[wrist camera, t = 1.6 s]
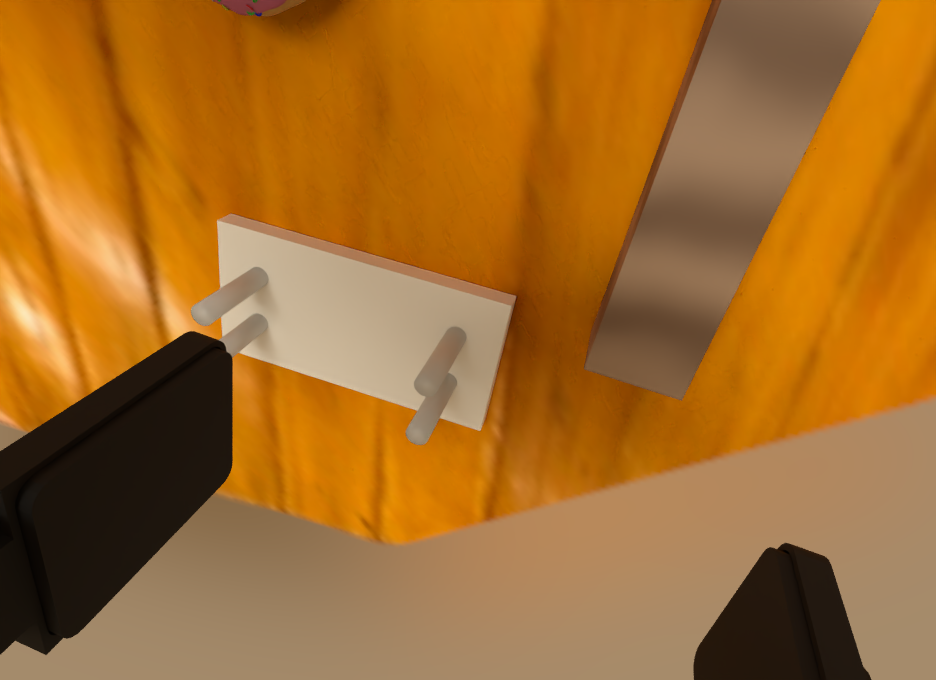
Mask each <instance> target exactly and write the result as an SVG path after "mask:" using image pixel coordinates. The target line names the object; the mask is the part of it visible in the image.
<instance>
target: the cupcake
mask: <svg viewBox="0 0 936 680" xmlns="http://www.w3.org/2000/svg"><path fill="white" fill-rule="evenodd" d="M212 1H214V2H217V3H219V4H221V5H222V6H223V8H224V9H226V10H229V9H230V10H232V11H234V12H236V13H238V14H241V15H257V16H273V15H276V14H279V13H281V12H283V11H286V10H288V9H290V8H292V7H295V6H297V5H299V4H301V3H303V2H305V1H306V0H212ZM225 7H227V8H225Z"/></svg>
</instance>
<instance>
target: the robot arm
mask: <svg viewBox="0 0 936 680" xmlns="http://www.w3.org/2000/svg"><path fill="white" fill-rule="evenodd" d="M231 468H232V356H231V354H230V353H228V352H227V351H226V346H225V344H224V343H223V342H222V341H220V340H217V339H214V338H211V337H208V336H206V335H203V334H200V333H197V332H194V331H189V332H187V333H185V334H183V335H182V336H180V337H178V338H177V339H175V340H174V341H172V342H171V343H169V344H168V345H166V346H164V347H163V348H161V349H160V350H158V351H157V352H155V353H153V354H152V355H150V356H149V357H147V358H146V359H144V360H142V361H141V362H139V363H138V364H136V365H135V366H133V367H131V368H130V369H128V370H127V371H125V372H124V373H122V374H121V375H119V376H117V377H116V378H114V379H113V380H111V381H110V382H108V383H106V384H105V385H103V386H102V387H100V388H99V389H97V390H95V391H94V392H92V393H91V394H89V395H88V396H86V397H84V398H83V399H81V400H80V401H78V402H77V403H75V404H74V405H72V406H70V407H69V408H67V409H66V410H64V411H63V412H61V413H59V414H58V415H56V416H55V417H53V418H52V419H50V420H48V421H47V422H45V423H44V424H42V425H41V426H39V427H37V428H36V429H34V430H33V431H31V432H30V433H28V434H27V435H25V436H23V437H22V438H20V439H19V440H17V441H16V442H14V443H12V444H11V445H10V446H8V447H6V448H5V449H3V450H1V451H0V654H1V653H3V652H4V651H5V650H6V649H7V648H8V647H9V646H10V645H11V644H12V643H13V642H14V641H15V640H16V641H17V642H19V643H21V644H24V645H26V646H28V647H30V648H32V649H34V650H37V651H39V652H41V653H43V654H45V655H47V654H48V653H49V652H50V651H51V649H53V648H54V647H55V645H57V644H58V643H59V642H60V641H61V640H62V639H63V638H71V637H73V636H74V635H76V634H78V633H79V632H80V631H81V630H82V629H83V628H84V627H85V626H86V625H87V624H88V623H89V622H90V621H91V620H92V619H93V618H94V617H95V616H96V615H97V613H99V612H100V611H101V610H102V608H103V607H104V606H105V605H106V604H107V603H108V602H109V601H110V600H111V599H112V598H113V597H114V596H115V595H116V594H117V593H118V592H119V591H120V590H121V589H122V588H123V587H124V586H125V585H126V584H127V583H128V582H129V581H130V580H131V578H132V577H133V576H134V575H135V574H136V573H137V572H138V571H139V570H140V569H141V568H142V567H143V566H144V565H145V564H146V563H147V562H148V561H149V560H150V559H151V558H152V557H153V555H155V554H156V553H157V552H158V551H159V550H160V548H161V547H162V546H163V545H164V544H165V543H166V542H167V541H168V540H169V539H170V538H171V537H172V536H173V535H174V534H175V533H176V532H177V531H178V530H179V529H180V528H181V527H182V526H183V524H184V523H186V522H187V521H188V519H189V518H190V517H191V516H192V515H193V514H194V513H195V512H196V511H197V510H198V509H199V508H200V507H201V506H202V505H203V504H204V503H205V502H206V501H207V500H208V499H209V498H210V497H211V496H212V495H213V494H214V493H215V492H216V490H217V489H218V488H219V487H220V486H221V485H222V484H223V483H224V482H225V481H226V479H227V477H228V476H229V474H230V471H231ZM694 680H871V678H870V675H869V673H868V672H867V671H866V670H865V669H864V667H863V665H862V662H861V658H860V655H859V652H858V649H857V646H856V642H855V639H854V636H853V633H852V630H851V626H850V623H849V620H848V617H847V614H846V611H845V607H844V604H843V601H842V598H841V595H840V591H839V588H838V585H837V582H836V579H835V576H834V572H833V569H832V566H831V564H830V562H829V560H828V559H827V558H826V557H825V556H822V555H819V554H817V553H814V552H811V551H808V550H806V549H803V548H800V547H797V546H794V545H791V544H788V543H784V544H782V545H781V546H780V547H779V548H778V549H775V548H771V547H770V548H767V549H766V550H765V551H764V552H763V554H762V555H761V557H760V558H759V560H758V561H757V562H756V564H755V565H754V567H753V568H752V570H751V571H750V573H749V574H748V575H747V577H746V578H745V580H744V581H743V583H742V584H741V585H740V587H739V588H738V590H737V591H736V593H735V594H734V596H733V597H732V598H731V600H730V601H729V603H728V605H727V606H726V607H725V609H724V610H723V612H722V613H721V614H720V616H719V617H718V619H717V620H716V622H715V623H714V625H713V626H712V627H711V629H710V630H709V632H708V633H707V635H706V636H705V638H704V639H703V641H702V642H701V643H700V645H699V647H698V649H697V651H696V655H695V659H694Z"/></svg>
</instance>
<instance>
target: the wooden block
mask: <svg viewBox="0 0 936 680" xmlns="http://www.w3.org/2000/svg"><path fill="white" fill-rule="evenodd" d="M879 2H880V0H712V2H711V5H710V8H709V11H708V13H707V16H706V19H705V22H704V24H703V27H702V30H701V32H700V35H699V38H698V41H697V43H696V46H695V49H694V52H693V54H692V57H691V60H690V63H689V65H688V68H687V71H686V73H685V76H684V79H683V82H682V84H681V87H680V90H679V93H678V95H677V98H676V101H675V104H674V106H673V109H672V112H671V114H670V117H669V120H668V123H667V125H666V128H665V131H664V134H663V136H662V139H661V142H660V145H659V147H658V150H657V153H656V155H655V158H654V161H653V164H652V166H651V169H650V172H649V175H648V177H647V180H646V183H645V186H644V188H643V191H642V194H641V196H640V199H639V202H638V205H637V207H636V210H635V213H634V216H633V218H632V221H631V224H630V227H629V229H628V232H627V235H626V237H625V240H624V243H623V246H622V248H621V251H620V254H619V257H618V259H617V262H616V265H615V268H614V270H613V273H612V276H611V278H610V281H609V284H608V287H607V289H606V292H605V295H604V298H603V300H602V303H601V306H600V309H599V311H598V314H597V317H596V319H595V322H594V325H593V328H592V330H591V335H590V340H589V345H588V351H587V356H586V361H585V366H584V369H585V370H588V371H591V372H594V373H597V374H601V375H604V376H607V377H610V378H613V379H616V380H619V381H622V382H626V383H629V384H632V385H635V386H638V387H641V388H644V389H647V390H650V391H654V392H657V393H660V394H663V395H666V396H669V397H672V398H675V399H678V400H682V399H683V397H684V395H685V393H686V391H687V389H688V387H689V385H690V383H691V381H692V379H693V377H694V375H695V373H696V371H697V369H698V367H699V365H700V363H701V361H702V359H703V357H704V355H705V353H706V351H707V349H708V347H709V345H710V343H711V341H712V339H713V337H714V335H715V333H716V331H717V328H718V326H719V324H720V322H721V320H722V318H723V316H724V314H725V312H726V310H727V308H728V306H729V304H730V302H731V300H732V298H733V296H734V294H735V292H736V290H737V288H738V286H739V284H740V282H741V280H742V278H743V276H744V274H745V272H746V270H747V268H748V266H749V264H750V262H751V260H752V258H753V256H754V254H755V252H756V250H757V248H758V246H759V244H760V242H761V240H762V238H763V236H764V234H765V232H766V230H767V228H768V226H769V224H770V222H771V220H772V218H773V216H774V214H775V212H776V210H777V208H778V206H779V204H780V202H781V200H782V198H783V196H784V194H785V192H786V190H787V188H788V186H789V184H790V182H791V180H792V178H793V176H794V174H795V172H796V170H797V168H798V165H799V163H800V161H801V159H802V157H803V155H804V153H805V151H806V149H807V147H808V145H809V143H810V141H811V139H812V137H813V135H814V133H815V131H816V129H817V127H818V125H819V123H820V121H821V119H822V117H823V115H824V113H825V111H826V109H827V107H828V105H829V103H830V101H831V99H832V97H833V95H834V93H835V91H836V89H837V87H838V85H839V83H840V81H841V79H842V77H843V75H844V73H845V71H846V69H847V67H848V65H849V63H850V61H851V59H852V57H853V55H854V53H855V51H856V49H857V47H858V45H859V43H860V41H861V39H862V37H863V35H864V33H865V31H866V29H867V27H868V25H869V23H870V21H871V19H872V17H873V15H874V13H875V11H876V9H877V7H878V5H879Z"/></svg>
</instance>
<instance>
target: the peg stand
mask: <svg viewBox="0 0 936 680" xmlns="http://www.w3.org/2000/svg"><path fill="white" fill-rule="evenodd" d="M217 226H218V249H219V272H220V289H219V290H217V291H216V292H214V293H213V294H211V295H209V296H208V297H206V298H205V299H203V300H202V301H200V302H199V303H197V304H195V305H194V306H193V307H192V309H191V314H192V317H193V318H194V320H195V321H196V322H197V323H199V324H200V325H203V326H208V325H210V324H211V323H213V322H214V321H216V320H217V319H219V318H220V317H221V319H222V338H221V339H219V340H220V341H222V342H223V343H224V344H225V346H226V351H227V352H228V353H230V354H231V356H232V357H234V356H235V355H236V354H237V353H241V354H244V355H247V356H250V357H253V358H256V359H259V360H262V361H265V362H269V363H272V364H275V365H278V366H281V367H284V368H287V369H290V370H293V371H296V372H299V373H303V374H306V375H309V376H312V377H315V378H318V379H321V380H324V381H327V382H330V383H333V384H336V385H340V386H343V387H346V388H349V389H352V390H355V391H358V392H361V393H364V394H367V395H370V396H374V397H377V398H380V399H383V400H386V401H389V402H392V403H395V404H398V405H401V406H404V407H408V408H411V409H414V410H417V413H416V414H415V416H414V418H413V419H412V421H411V423H410V425H409V426H408V428H407V430H406V436H407V438H408V439H409V440H410V441H411V442H412V443H414V444H417V445H423V444H425V443H426V442H427V441H428V439H429V437H430V435H431V433H432V431H433V430H434V428H435V426H436V424H437V422H438V420H439V418H441V419H445V420H448V421H451V422H454V423H457V424H460V425H463V426H466V427H469V428H472V429H475V430H479V431H481V429H482V426H483V424H484V421H485V419H486V415H487V411H488V407H489V403H490V399H491V395H492V391H493V387H494V383H495V379H496V375H497V372H498V368H499V364H500V360H501V356H502V352H503V348H504V344H505V340H506V336H507V332H508V328H509V324H510V320H511V316H512V312H513V308H514V304H515V300H516V297H517V296H515V295H511V294H508V293H504V292H501V291H497V290H494V289H490V288H487V287H484V286H480V285H477V284H473V283H470V282H466V281H463V280H459V279H456V278H452V277H449V276H445V275H442V274H439V273H435V272H432V271H428V270H425V269H421V268H418V267H414V266H411V265H407V264H404V263H400V262H397V261H394V260H390V259H387V258H383V257H380V256H376V255H373V254H369V253H366V252H362V251H359V250H355V249H352V248H349V247H345V246H342V245H338V244H335V243H331V242H328V241H324V240H321V239H317V238H314V237H310V236H307V235H304V234H300V233H297V232H293V231H290V230H286V229H283V228H279V227H276V226H272V225H269V224H265V223H262V222H259V221H255V220H252V219H248V218H245V217H241V216H238V215H234V214H229V215H227V216H225V217H223V218H221V219H219V220H217Z"/></svg>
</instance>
